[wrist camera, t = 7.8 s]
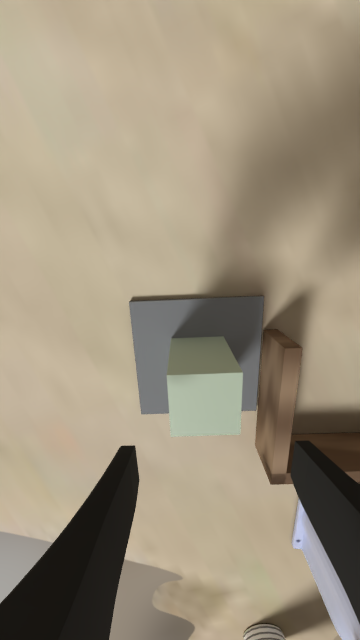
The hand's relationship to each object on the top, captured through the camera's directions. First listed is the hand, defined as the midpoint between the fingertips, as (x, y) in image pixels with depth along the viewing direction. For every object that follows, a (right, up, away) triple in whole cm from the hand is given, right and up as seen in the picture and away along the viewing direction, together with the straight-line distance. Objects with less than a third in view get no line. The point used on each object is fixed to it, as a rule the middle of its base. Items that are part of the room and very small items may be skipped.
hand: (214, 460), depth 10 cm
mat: (0, +3, +10) cm, 10 cm away
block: (0, +3, +9) cm, 10 cm away
